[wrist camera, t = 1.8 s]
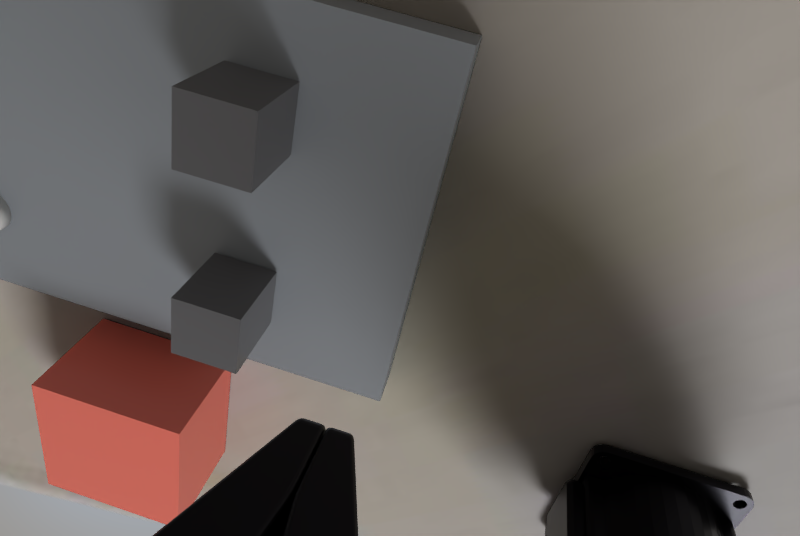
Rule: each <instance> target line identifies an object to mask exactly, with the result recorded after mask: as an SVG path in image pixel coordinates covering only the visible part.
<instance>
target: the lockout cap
mask: <svg viewBox="0 0 800 536" xmlns="http://www.w3.org/2000/svg"><path fill="white" fill-rule="evenodd" d="M230 379H231V372H229V371H226V370H223V369H220V368H217V367H213V366H210V365H207V364H204V363H201V362H198V361H195V360H192V359H189V358H186V357H183V356H180V355H176V354H173V353H171V340H169V339H165V338H162V337H159V336H156V335H153V334H150V333H147V332H144V331H141V330H138V329H134V328H131V327H128V326H125V325H122V324H119V323H116V322H113V321H110V320H107V319H102V320H101V321H100V322H99V323H98V324H97V325H96V326H95V327H94V328H93V329H91V330H90V331H89V332H88V333H87V334H86V335H85V336H84V337H83V338H82V339H81V340H80V341H79V342H77V343H76V344H75V345H74V346H73V347H72V348H71V349H70V350H69V351H68V352H67V353H66V354H64V355H63V356H62V357H61V358H60V359H59V360H58V361H57V362H56V363H55V364H54V365H53V366H51V367H50V368H49V369H48V370H47V371H46V372H45V373H44V374H43V375H42V376H41V377H40V378H39V379H37V380H36V381H35V382H34V383H33V384H32V390H33V396H34V402H35V408H36V413H37V419H38V425H39V431H40V437H41V443H42V448H43V454H44V460H45V466H46V472H47V477H48V483H49V484H51V485H54V486H57V487H60V488H62V489H65V490H68V491H71V492H74V493H77V494H80V495H83V496H86V497H88V498H91V499H94V500H97V501H100V502H103V503H106V504H109V505H112V506H114V507H117V508H120V509H123V510H126V511H129V512H132V513H135V514H138V515H140V516H143V517H146V518H149V519H152V520H155V521H158V522H161V523H164V524H166V525H167V524H168V523H169V522H170V521H172V520H173V519H174V518H175V517H176V516H178V515H179V514H180V513H181V512H183V511H184V510H185V509H186V508H188V507H189V506H190V505H191V504H193V503H194V501H195V500H196V498H197V496H198V495H199V493H200V491H201V490H202V488H203V486H204V485H205V483H206V481H207V480H208V478H209V476H210V475H211V473H212V471H213V470H214V468H215V466H216V465H217V463H218V462H219V460H220V458H221V457H222V455H223V453H224V452H225V444H226V431H227V418H228V405H229V392H230Z"/></svg>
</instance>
